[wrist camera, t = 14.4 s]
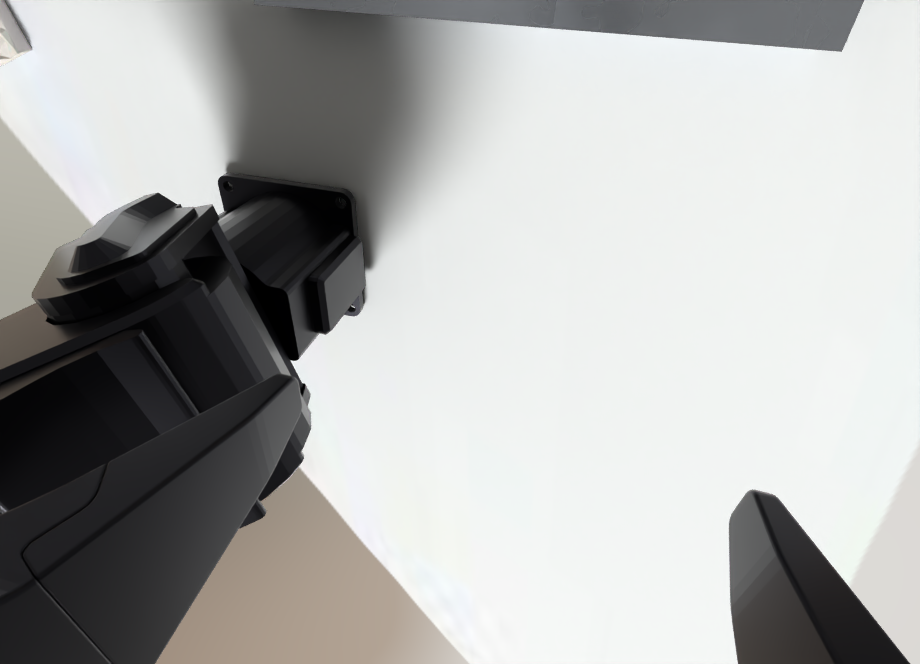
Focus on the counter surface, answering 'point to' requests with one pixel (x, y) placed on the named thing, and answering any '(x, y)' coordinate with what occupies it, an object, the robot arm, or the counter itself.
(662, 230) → the counter surface
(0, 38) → the packaged product
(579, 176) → the counter surface
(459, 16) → the grey block with opening
